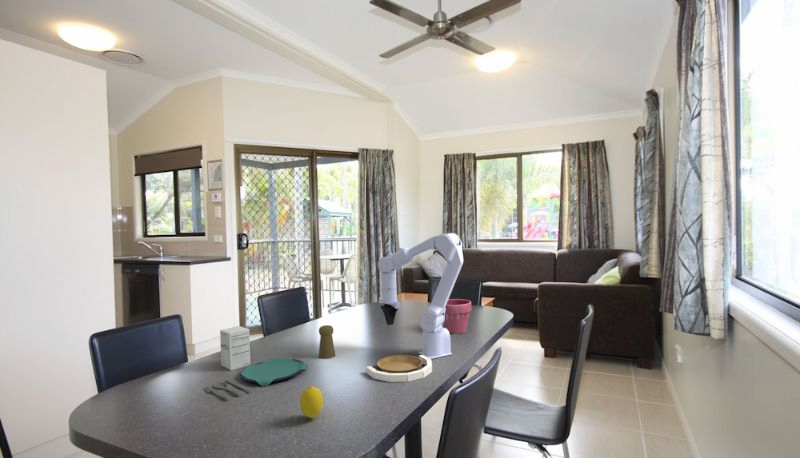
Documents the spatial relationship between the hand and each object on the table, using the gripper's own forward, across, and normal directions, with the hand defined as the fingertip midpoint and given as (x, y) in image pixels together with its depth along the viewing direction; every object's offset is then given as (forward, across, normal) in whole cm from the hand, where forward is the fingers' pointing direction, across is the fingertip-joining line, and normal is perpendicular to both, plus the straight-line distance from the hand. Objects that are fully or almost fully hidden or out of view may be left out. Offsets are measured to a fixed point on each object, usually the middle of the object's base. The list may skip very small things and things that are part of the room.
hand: (390, 324), depth 153 cm
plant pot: (+10, -7, +35) cm, 37 cm away
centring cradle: (+9, +24, -7) cm, 27 cm away
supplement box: (+10, -14, -53) cm, 56 cm away
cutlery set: (+10, +3, -48) cm, 49 cm away
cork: (+10, -6, -23) cm, 26 cm away
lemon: (+10, +38, -41) cm, 57 cm away
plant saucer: (+10, +20, -7) cm, 24 cm away
